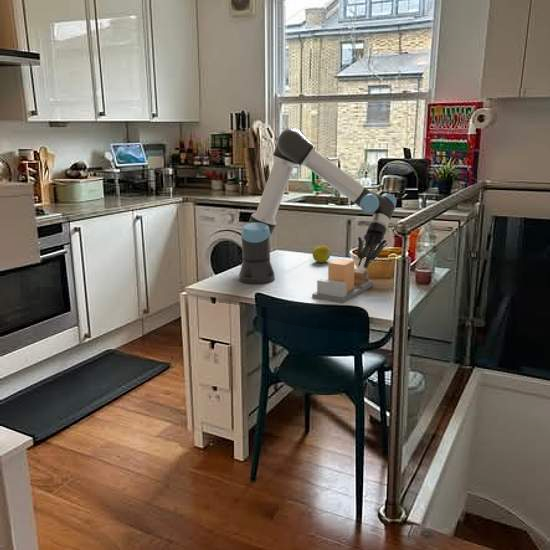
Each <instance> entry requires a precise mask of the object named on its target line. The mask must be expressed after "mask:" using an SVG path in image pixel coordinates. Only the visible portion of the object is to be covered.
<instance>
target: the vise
mask: <svg viewBox="0 0 550 550" xmlns="http://www.w3.org/2000/svg"><path fill="white" fill-rule="evenodd" d="M373 286H374V282H373V279H368V281H367V282H365V283H363V284H361V285H358V284H354V288H353V289H351V290H349V291H347V283H346V282H339V281H333V280H328V278H327V279H326V278H319V279H317V281H316V291H315V292H313V293H311V298H313V299H316V300H317V299H318V300H322V301H323V300H324V301H327V300H328V301H329V302H333V303H339V304H344V303H346V302H348V301H349V300H351V299H353V298H355V297H356V296H357V295H359V294H361V293H362V292H365V291H367V290H369V288H372V287H373Z"/></svg>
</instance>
